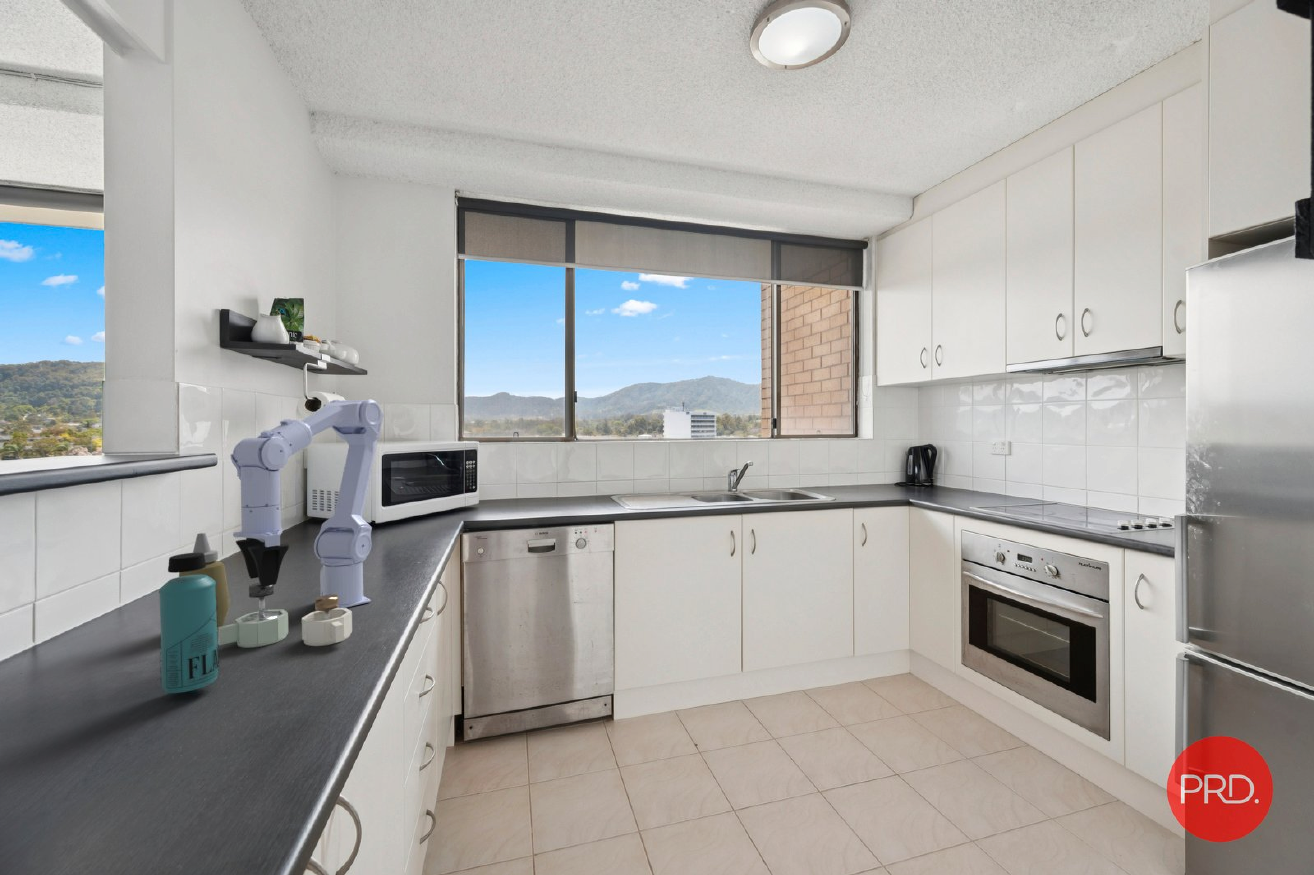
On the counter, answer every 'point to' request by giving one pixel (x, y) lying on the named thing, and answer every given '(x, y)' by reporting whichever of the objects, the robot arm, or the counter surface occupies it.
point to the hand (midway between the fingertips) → (262, 581)
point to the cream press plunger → (326, 604)
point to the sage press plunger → (261, 602)
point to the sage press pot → (255, 630)
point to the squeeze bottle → (213, 576)
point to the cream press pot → (326, 627)
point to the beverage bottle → (188, 627)
